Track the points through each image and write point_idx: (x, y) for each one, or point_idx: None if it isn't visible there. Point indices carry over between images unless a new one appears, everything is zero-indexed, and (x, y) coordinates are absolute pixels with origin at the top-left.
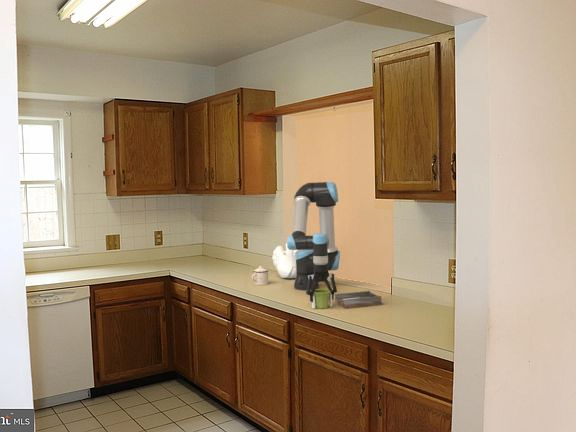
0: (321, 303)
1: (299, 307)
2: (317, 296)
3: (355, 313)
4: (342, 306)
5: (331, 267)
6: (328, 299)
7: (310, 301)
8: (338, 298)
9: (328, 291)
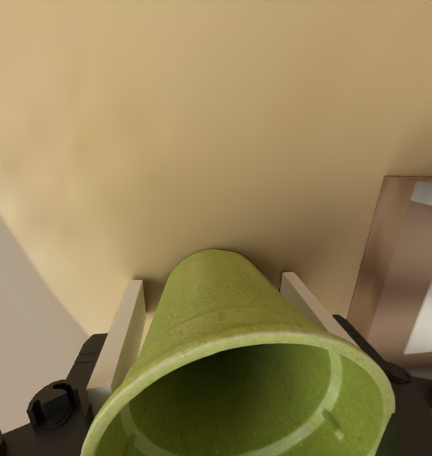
0: (196, 370)
1: (10, 218)
2: (156, 443)
3: None
4: (349, 322)
5: None
6: (280, 373)
7: (92, 342)
8: None
9: (364, 396)
